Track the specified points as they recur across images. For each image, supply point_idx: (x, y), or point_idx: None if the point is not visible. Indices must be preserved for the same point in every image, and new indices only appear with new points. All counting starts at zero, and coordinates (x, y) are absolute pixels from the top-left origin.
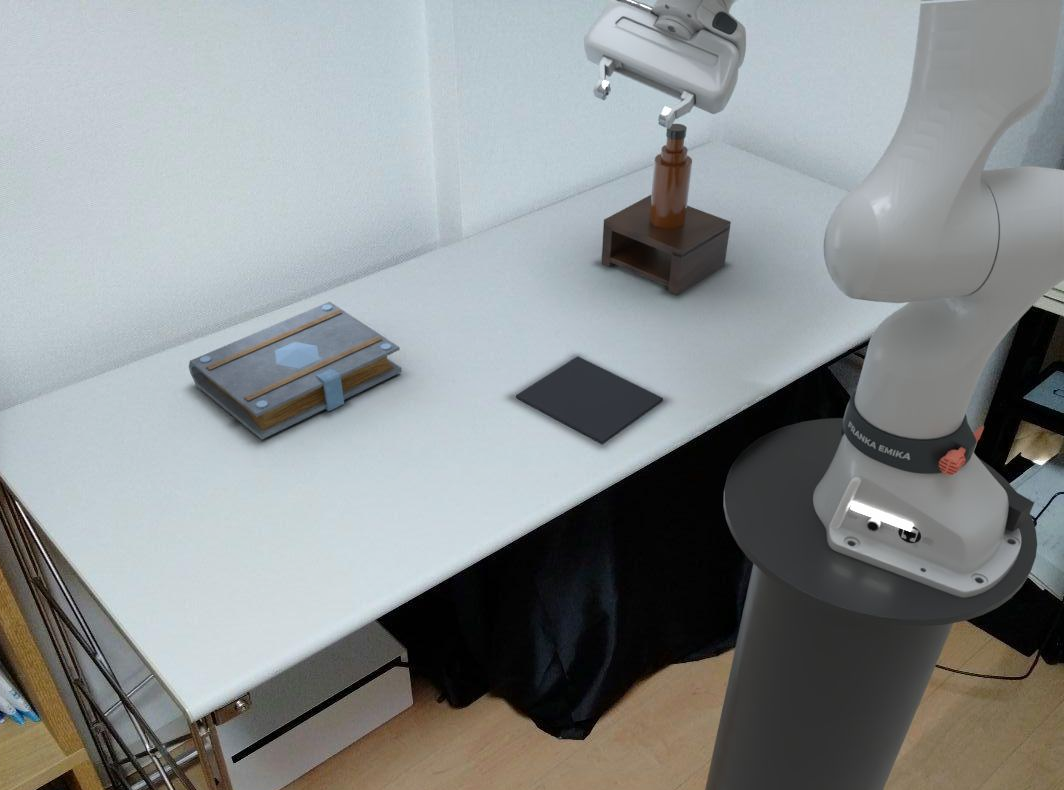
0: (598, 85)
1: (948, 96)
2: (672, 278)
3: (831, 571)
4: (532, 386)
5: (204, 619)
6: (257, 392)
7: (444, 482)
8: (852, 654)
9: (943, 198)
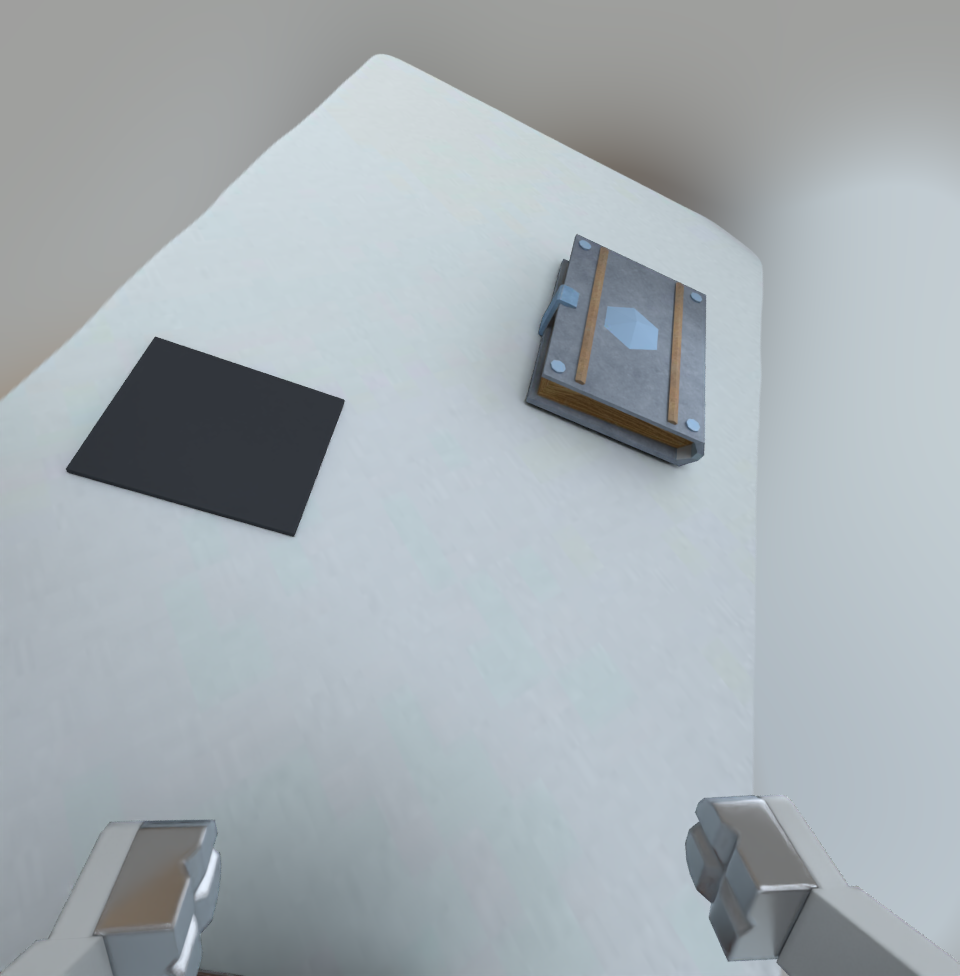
0: (787, 824)
1: None
2: None
3: None
4: (330, 425)
5: (431, 103)
6: (603, 256)
7: (341, 244)
8: None
9: None
